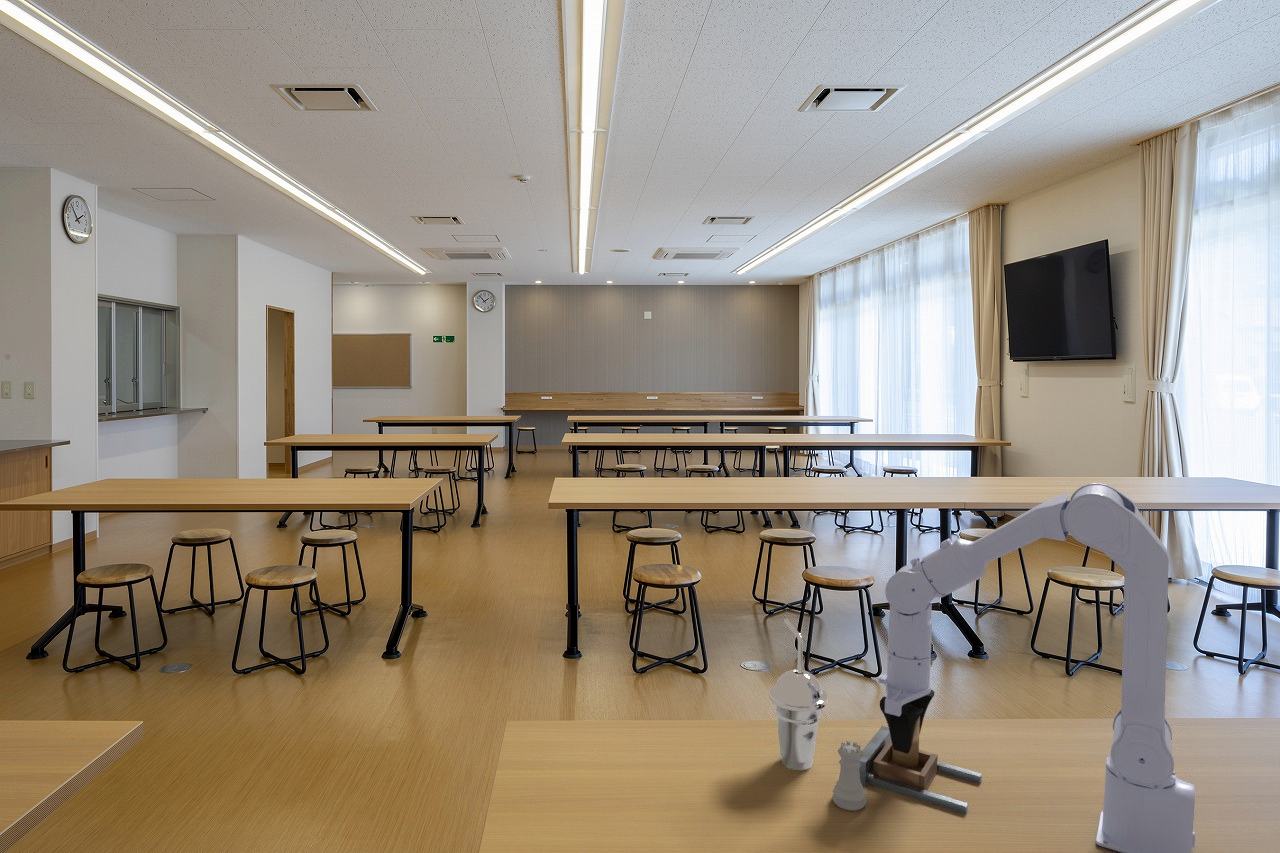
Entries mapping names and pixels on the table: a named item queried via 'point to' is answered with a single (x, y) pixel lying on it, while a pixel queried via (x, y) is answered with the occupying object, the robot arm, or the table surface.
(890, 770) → the walnut socket block
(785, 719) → the cup with straw
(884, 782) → the rail
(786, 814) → the table surface
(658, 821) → the table surface
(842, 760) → the rook chess piece
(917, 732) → the oak dowel
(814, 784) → the table surface
